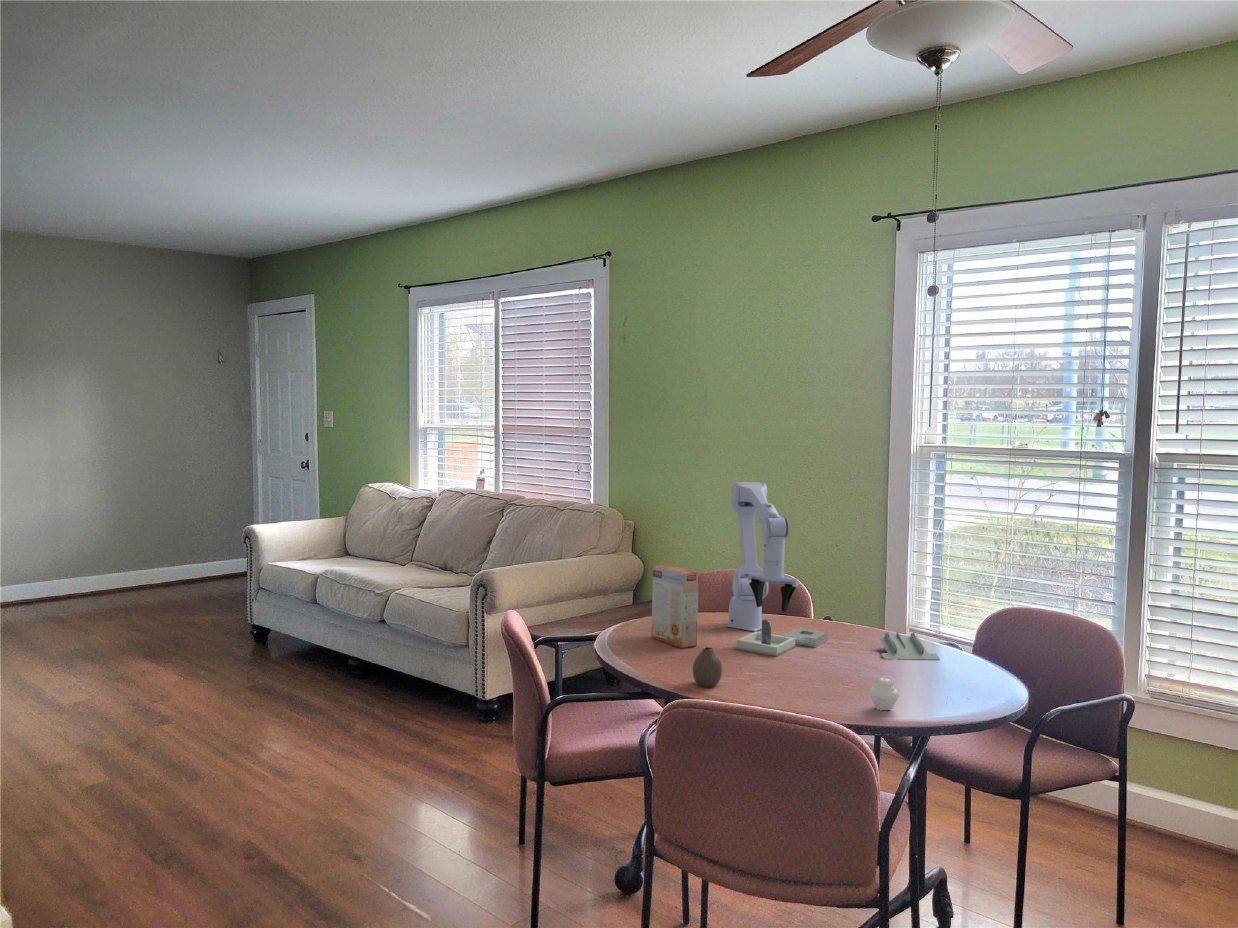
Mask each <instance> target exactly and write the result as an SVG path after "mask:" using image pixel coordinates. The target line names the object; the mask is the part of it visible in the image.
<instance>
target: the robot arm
mask: <svg viewBox="0 0 1238 928" xmlns="http://www.w3.org/2000/svg"><path fill="white" fill-rule="evenodd" d="M730 495H731V497H730V498H731V507H732V511H735V512H736V513H737V518H738V519H737V520H738V531H739V533H738V535H739V545H740V546H739V548H740V562H741V565H740V566H739V567H738V568H737V569H736V570H735V571H734V573H733V575H732V583H731V584H732V586H731V587H732V588H731V589H732V592H733V593H732V594H733V596H732V597H731V599H730V601H729V605H728V624H727V625H726V627H728V628H733V629H739V630H745V631H750V632H756V631H757V632H758V631H760V630H762V613H763V611H762V608H763V602H764V600H765V598H766V597H767V595H768V594H769V589H770V588H769V584H777V585H782V586H780V590H781V612H786V611H788V608H789V604H790V601H791V599H792V597H793V594H794V592H796V590H797V589H796V588H797V587H799V580H800V579H799V578H793V577H790V576H786V575H784V574H785V569H784V568H785V548H786V547H785V546H786V539H787V538H788V536H789V532H790V531H789V530H790V527H789V525H790V524H789V520H788V518H787V517H785V516H780V514H779V513H778V511H777V509H776V507H775V506H774V504H772V503H771V502H768V487H767V484H766V483H765V482H764V481H759V482H756V481H755V482H753V481H752V482H750V481H748V482H746V481H734V482H733V484H732V486H731V490H730ZM755 516H756V518H757V521H758V522H759V523H760V527H761V528H760V529H761V530H760V532H761V536H762V537H761V538H762V539H761V541H762V544H763V558H762V567H760V566H759V565H758V553H757V552H758V551H757V541H756V539H757V538H756V528H755V527H756V526H755Z"/></svg>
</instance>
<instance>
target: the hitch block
mask: <svg viewBox="0 0 1238 928" xmlns="http://www.w3.org/2000/svg"><path fill="white" fill-rule="evenodd" d="M784 637H790V638H795V645H798V646H799V645H800V646H803V647H804V646H805V647H811V648H817V647H820V645H822V644H825V643H826V642H827V641H828V632H827V631H822V630H816V629H810V628H803V627H796V628H793V629H792V630H789V631H787V632H786V633H785V634H784Z"/></svg>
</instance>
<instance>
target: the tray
mask: <svg viewBox="0 0 1238 928" xmlns="http://www.w3.org/2000/svg"><path fill="white" fill-rule="evenodd" d="M761 635H762V631H758V630H757V631H752V633H749V634H746V635H744V636H742V637H740V638H737V639H736V649H737V650H739V651H740V650H741V651H745V650H746V651H745V652H750V653H756V654H760V653H761V655H765V656H766V655H767V656H772V657H779V656H781V655H783V654H785V653H786V652H789V651H791V650H792V649H795V648H796V644H795V638H790V637H785V635H784V636H783V635H778V634H773V633H771V645H767V644H762V643H761Z"/></svg>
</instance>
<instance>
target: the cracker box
mask: <svg viewBox="0 0 1238 928" xmlns="http://www.w3.org/2000/svg"><path fill="white" fill-rule="evenodd" d="M652 569H653V570H652V595H651V596H652V599H651V601H652V602H651V606H652V607H651V634H650V635H651V636H650V638H652V639H655V640H658V641H661V642H662V643H663V642H664V643H666V644H669V645H670V646H673V647H677V648H679V649H687V648H692V647H697V642H698V618H699V614H698V613H699V586H700V585H699V583H700V572H698V571H695V570H690V569H686V568H683V567H678V566H675V565H671V564H660V565H654V566H653V568H652Z"/></svg>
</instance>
